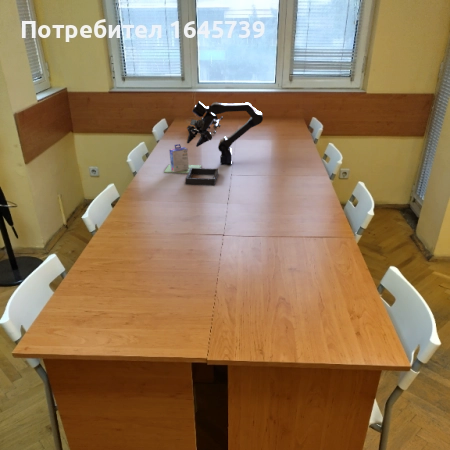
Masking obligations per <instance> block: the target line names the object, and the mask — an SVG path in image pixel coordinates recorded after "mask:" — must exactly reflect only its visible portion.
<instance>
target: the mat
mask: <svg viewBox="0 0 450 450" xmlns="http://www.w3.org/2000/svg"><path fill="white" fill-rule="evenodd" d="M190 168H202V165H201V164H200V165H199V164H189V170H190ZM189 170H184V171H178V172H173V171H172V170H171V163H170V164H168V165H167V167H166V169H165V170H164V172H163V173H164V174H188V172H189Z"/></svg>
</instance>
